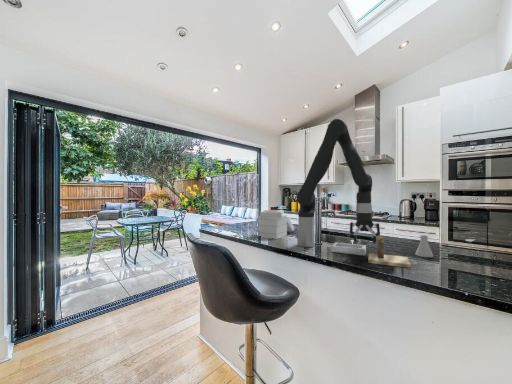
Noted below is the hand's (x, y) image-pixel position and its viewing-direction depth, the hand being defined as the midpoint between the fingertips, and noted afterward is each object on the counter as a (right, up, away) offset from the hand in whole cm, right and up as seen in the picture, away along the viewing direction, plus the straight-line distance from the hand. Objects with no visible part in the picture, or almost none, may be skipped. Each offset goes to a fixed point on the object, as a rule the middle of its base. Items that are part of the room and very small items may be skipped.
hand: (364, 242), depth 123 cm
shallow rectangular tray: (-7, -5, +3) cm, 9 cm away
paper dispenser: (-42, -5, +51) cm, 66 cm away
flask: (+27, -5, -6) cm, 28 cm away
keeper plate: (+4, -6, -15) cm, 16 cm away
